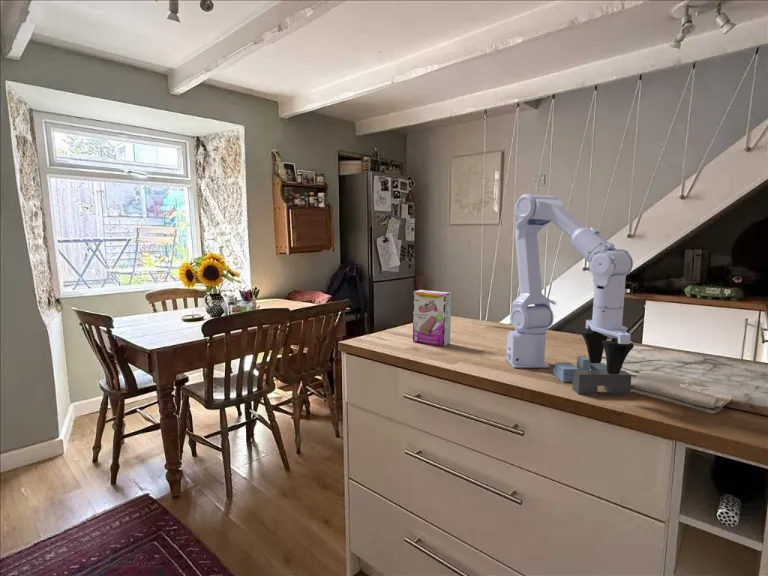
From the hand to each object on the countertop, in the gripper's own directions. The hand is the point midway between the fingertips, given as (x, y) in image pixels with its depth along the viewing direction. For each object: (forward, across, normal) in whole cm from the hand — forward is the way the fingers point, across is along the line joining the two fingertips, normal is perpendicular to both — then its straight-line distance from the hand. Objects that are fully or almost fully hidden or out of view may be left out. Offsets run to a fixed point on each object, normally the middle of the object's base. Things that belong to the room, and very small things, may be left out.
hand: (603, 368), depth 91 cm
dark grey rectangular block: (+5, 0, 0) cm, 5 cm away
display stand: (+5, +9, 0) cm, 11 cm away
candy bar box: (+5, +41, +33) cm, 53 cm away
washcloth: (+6, -1, -15) cm, 16 cm away
